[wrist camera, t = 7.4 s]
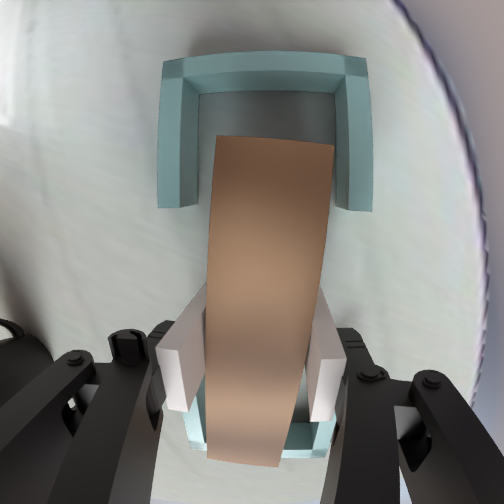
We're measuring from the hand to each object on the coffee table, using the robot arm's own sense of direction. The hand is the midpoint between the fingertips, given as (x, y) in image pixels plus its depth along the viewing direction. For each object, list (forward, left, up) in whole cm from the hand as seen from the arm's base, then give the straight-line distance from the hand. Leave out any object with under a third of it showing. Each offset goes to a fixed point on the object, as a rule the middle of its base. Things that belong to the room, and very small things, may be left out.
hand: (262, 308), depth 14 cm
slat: (0, 0, -1) cm, 1 cm away
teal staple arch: (-9, 0, -3) cm, 10 cm away
